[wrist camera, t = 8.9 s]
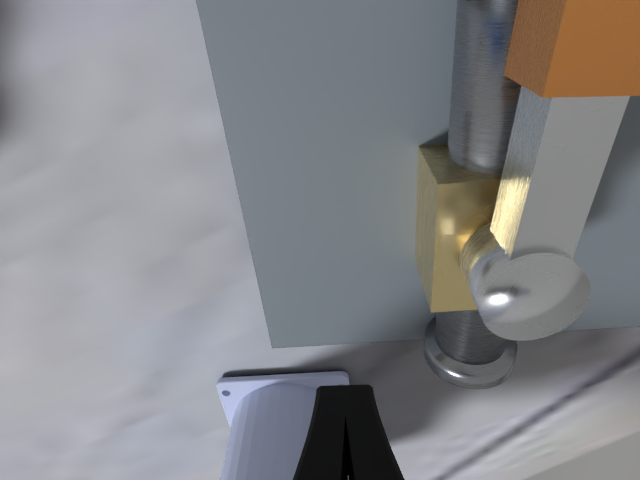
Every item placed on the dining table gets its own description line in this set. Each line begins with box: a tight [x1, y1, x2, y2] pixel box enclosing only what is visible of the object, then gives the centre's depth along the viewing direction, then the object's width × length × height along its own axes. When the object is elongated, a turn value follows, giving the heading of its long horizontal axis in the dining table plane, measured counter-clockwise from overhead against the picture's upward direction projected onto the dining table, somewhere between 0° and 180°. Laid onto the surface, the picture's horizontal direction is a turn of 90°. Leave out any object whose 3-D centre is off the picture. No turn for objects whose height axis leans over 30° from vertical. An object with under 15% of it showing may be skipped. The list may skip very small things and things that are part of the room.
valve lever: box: [459, 0, 640, 341], centre depth 12 cm, size 12×3×2 cm, turn 1°
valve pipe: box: [415, 0, 522, 389], centre depth 17 cm, size 18×5×4 cm, turn 5°
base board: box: [196, 0, 640, 348], centre depth 18 cm, size 18×20×1 cm
